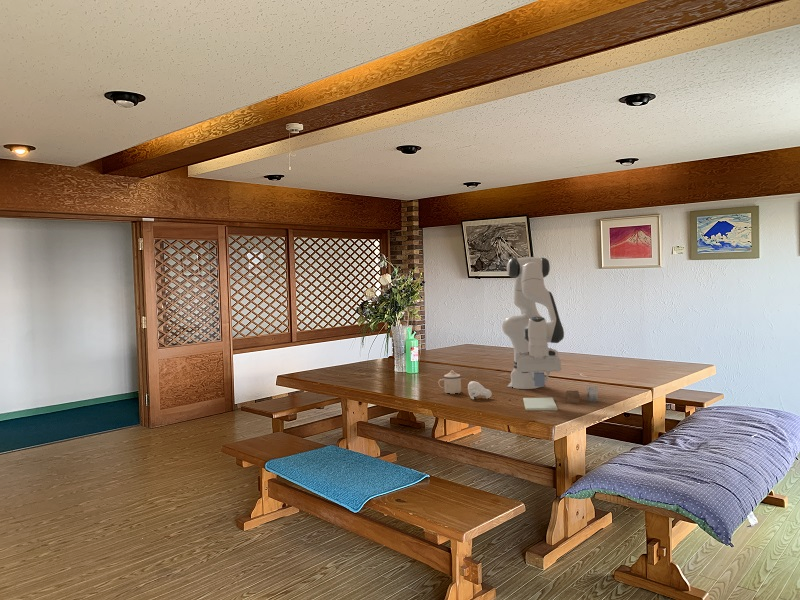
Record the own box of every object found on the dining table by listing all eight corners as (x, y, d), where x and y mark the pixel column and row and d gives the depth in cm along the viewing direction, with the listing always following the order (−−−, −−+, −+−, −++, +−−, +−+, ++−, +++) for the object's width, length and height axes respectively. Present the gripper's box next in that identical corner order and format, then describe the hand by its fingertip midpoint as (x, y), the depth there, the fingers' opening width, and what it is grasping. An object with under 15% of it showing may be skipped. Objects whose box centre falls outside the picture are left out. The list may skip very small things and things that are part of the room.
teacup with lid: (461, 390, 320) (460, 369, 319) (461, 394, 311) (461, 371, 310) (438, 391, 320) (437, 369, 320) (438, 394, 311) (438, 372, 311)
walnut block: (566, 401, 285) (566, 390, 285) (577, 400, 285) (577, 390, 285) (568, 403, 281) (568, 392, 280) (579, 403, 280) (579, 392, 280)
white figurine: (469, 379, 302) (493, 382, 299) (468, 396, 303) (492, 399, 300) (467, 382, 296) (491, 384, 293) (466, 399, 297) (490, 401, 294)
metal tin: (586, 400, 285) (585, 385, 285) (596, 400, 284) (596, 385, 284) (587, 402, 280) (587, 387, 280) (598, 402, 279) (598, 387, 279)
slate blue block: (534, 384, 281) (533, 372, 281) (544, 384, 280) (543, 372, 280) (534, 386, 277) (534, 373, 276) (544, 386, 276) (544, 373, 276)
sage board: (523, 399, 291) (523, 397, 291) (552, 399, 289) (552, 397, 289) (525, 410, 269) (525, 408, 269) (557, 410, 267) (557, 408, 267)
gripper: (515, 353, 276) (517, 382, 277) (561, 352, 273) (562, 381, 274) (515, 351, 283) (516, 380, 283) (559, 350, 280) (560, 379, 280)
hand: (539, 381), depth 278 cm, fingers closed on slate blue block, 4 cm apart
